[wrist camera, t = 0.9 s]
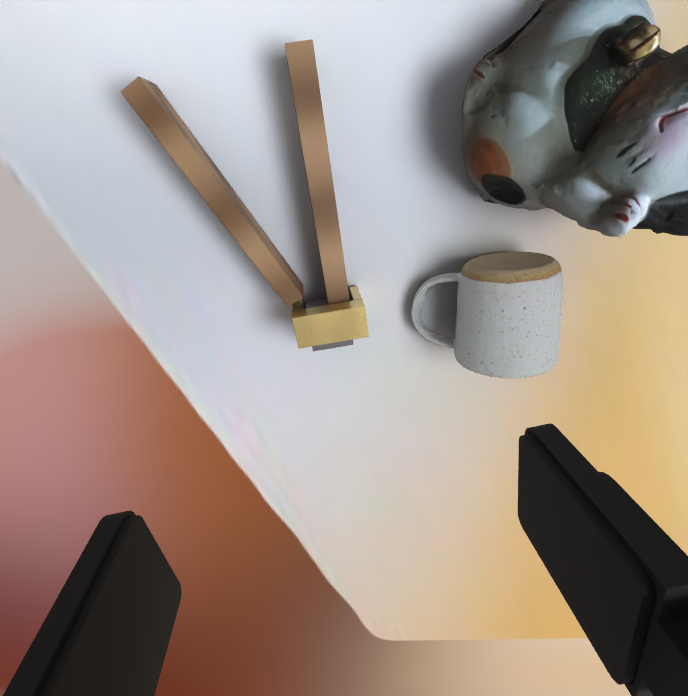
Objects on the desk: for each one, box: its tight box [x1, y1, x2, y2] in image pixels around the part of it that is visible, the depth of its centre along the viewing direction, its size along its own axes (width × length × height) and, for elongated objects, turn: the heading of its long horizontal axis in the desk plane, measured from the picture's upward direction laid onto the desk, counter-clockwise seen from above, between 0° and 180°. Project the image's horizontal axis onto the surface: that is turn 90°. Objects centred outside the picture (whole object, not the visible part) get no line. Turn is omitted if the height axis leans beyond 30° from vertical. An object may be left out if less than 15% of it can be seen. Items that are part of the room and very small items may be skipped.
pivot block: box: [306, 298, 353, 351], centre depth 32 cm, size 3×3×3 cm
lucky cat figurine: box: [462, 0, 688, 237], centre depth 24 cm, size 15×12×14 cm
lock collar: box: [292, 286, 369, 349], centre depth 31 cm, size 2×5×5 cm, turn 98°
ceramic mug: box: [411, 252, 563, 378], centre depth 31 cm, size 11×8×8 cm
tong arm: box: [121, 77, 303, 307], centre depth 28 cm, size 16×1×3 cm, turn 33°
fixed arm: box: [285, 40, 350, 305], centre depth 28 cm, size 18×2×3 cm, turn 8°
